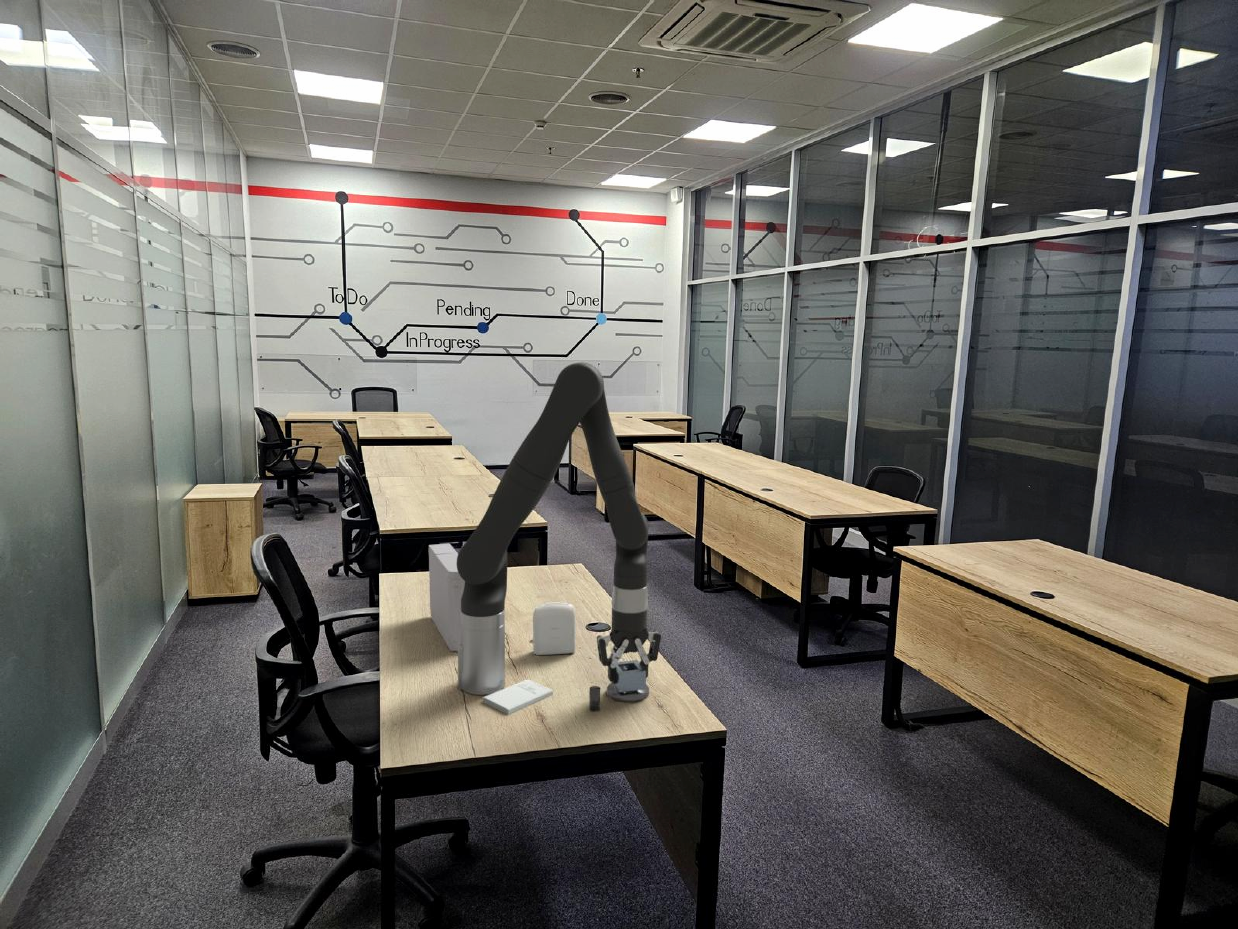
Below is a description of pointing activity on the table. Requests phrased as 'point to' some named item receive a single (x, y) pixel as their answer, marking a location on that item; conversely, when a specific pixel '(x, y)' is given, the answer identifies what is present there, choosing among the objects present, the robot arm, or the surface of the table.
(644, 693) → the hub
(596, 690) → the stand rod
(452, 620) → the game console
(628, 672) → the hollow square housing
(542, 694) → the external hard drive
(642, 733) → the table surface
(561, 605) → the photo printer
